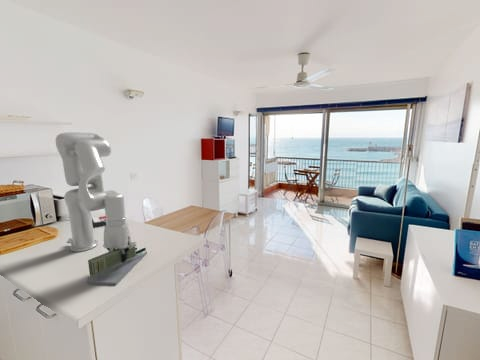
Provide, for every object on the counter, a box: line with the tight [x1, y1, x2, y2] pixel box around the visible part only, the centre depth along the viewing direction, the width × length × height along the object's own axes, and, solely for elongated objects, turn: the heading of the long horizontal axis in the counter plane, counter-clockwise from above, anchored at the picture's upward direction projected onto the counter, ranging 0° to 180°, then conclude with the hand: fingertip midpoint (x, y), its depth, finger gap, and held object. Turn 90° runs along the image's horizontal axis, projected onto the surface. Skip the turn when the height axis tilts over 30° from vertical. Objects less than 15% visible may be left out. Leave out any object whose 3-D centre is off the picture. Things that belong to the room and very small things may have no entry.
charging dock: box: [86, 250, 148, 286], centre depth 106 cm, size 12×26×1 cm, turn 176°
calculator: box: [92, 215, 106, 229], centre depth 161 cm, size 11×4×15 cm
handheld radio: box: [87, 241, 147, 277], centre depth 105 cm, size 7×3×25 cm
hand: (119, 260), depth 105 cm, fingers closed on handheld radio, 3 cm apart
